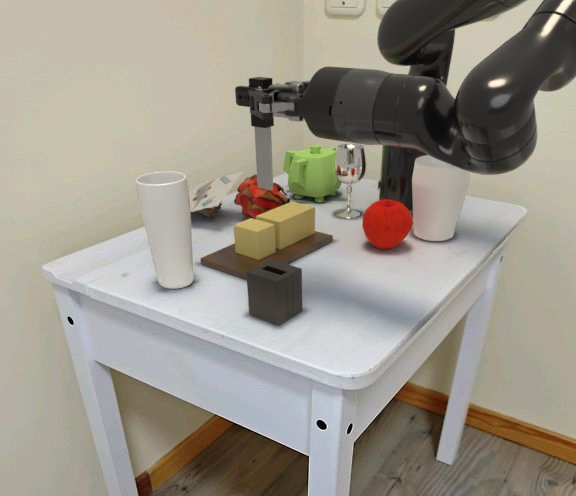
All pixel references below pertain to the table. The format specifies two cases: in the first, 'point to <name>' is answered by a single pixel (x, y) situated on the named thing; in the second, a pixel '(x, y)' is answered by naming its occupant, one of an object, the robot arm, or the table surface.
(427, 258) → the table surface
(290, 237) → the butter block
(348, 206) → the wineglass
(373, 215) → the apple
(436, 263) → the table surface
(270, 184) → the knife
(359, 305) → the table surface
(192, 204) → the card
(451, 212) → the cup
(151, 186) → the white tall tumbler
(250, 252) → the butter slice
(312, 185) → the teapot
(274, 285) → the knife block
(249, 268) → the butter board
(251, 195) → the dragon fruit
